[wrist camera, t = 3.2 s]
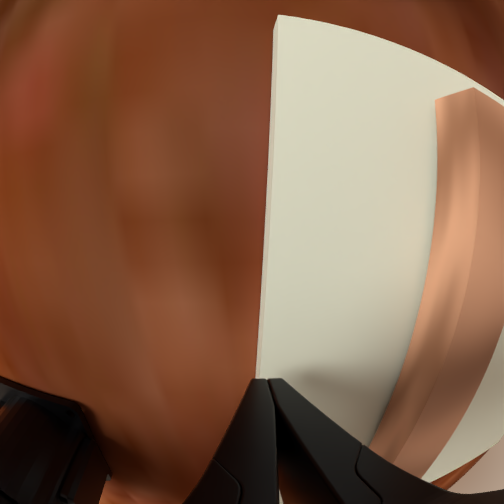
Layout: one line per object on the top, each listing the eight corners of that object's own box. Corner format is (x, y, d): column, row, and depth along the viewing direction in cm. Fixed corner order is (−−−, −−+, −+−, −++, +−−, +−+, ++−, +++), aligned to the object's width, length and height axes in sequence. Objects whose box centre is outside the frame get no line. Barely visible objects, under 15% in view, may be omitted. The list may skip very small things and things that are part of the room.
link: (381, 497, 12) (393, 521, 9) (321, 513, 12) (330, 541, 9) (495, 129, 7) (539, 125, 5) (421, 94, 7) (471, 75, 4)
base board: (244, 515, 13) (245, 526, 12) (273, 29, 7) (278, 14, 6) (493, 437, 15) (498, 442, 14) (571, 168, 10) (579, 168, 9)
